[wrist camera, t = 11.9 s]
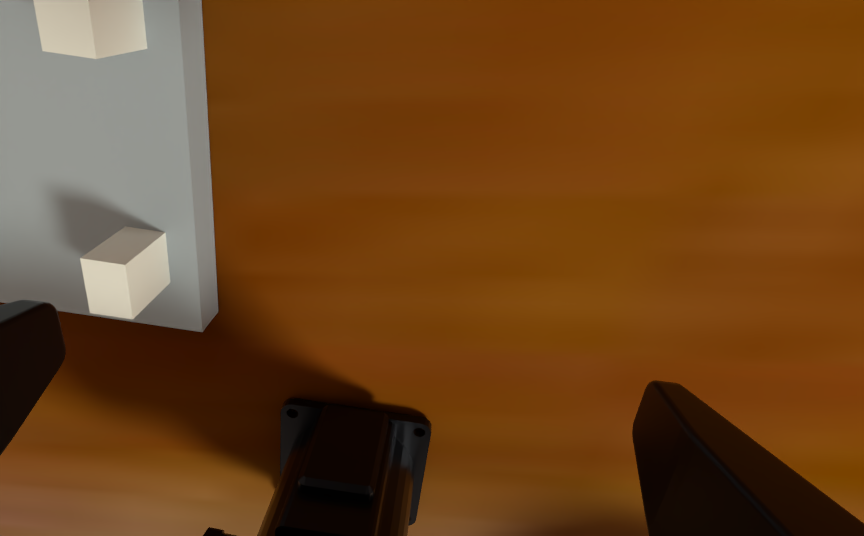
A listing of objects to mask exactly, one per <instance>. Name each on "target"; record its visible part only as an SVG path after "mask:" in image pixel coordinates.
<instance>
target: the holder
mask: <svg viewBox="0 0 864 536" xmlns="http://www.w3.org/2000/svg"><path fill="white" fill-rule="evenodd" d="M24 299H27V300H35V301H42V302H49V303H51V304H52V305H54V306H55V308H56V309H57V311H63V312H70V313H76V314H83V315H90V316H97V317H103V318H110V319H117V320H123V321H130V322H137V323H144V324H150V325H157V326H164V327H170V328H177V329H184V330H191V331H197V332H203V331H204V329H205V328H206V327H207V326H208V324H209V323H210V322H211V320H212V319H213V318H214V317H215V315H216V314H217V313H218V293H217V275H216V257H215V239H214V220H213V202H212V184H211V165H210V147H209V129H208V111H207V92H206V74H205V56H204V38H203V19H202V1H201V0H0V302H2V303H10V302H14V301H17V300H24Z"/></svg>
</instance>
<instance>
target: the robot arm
mask: <svg viewBox="0 0 864 536" xmlns="http://www.w3.org/2000/svg"><path fill="white" fill-rule="evenodd" d="M65 351H66V348H65V343H64V338H63V334H62V329H61V325H60V320H59V316H58V312H57V309H56V308H55V306H54V305H52V304H51V303H49V302H42V301H35V300H27V299H24V300H17V301H14V302H10V303H7V304H3V305H0V455H1V454H2V452H3V451H4V450H5V448H6V447H7V446H8V444H9V443H10V441H11V440H12V438H13V437H14V436H15V434H16V433H17V431H18V430H19V428H20V427H21V425H22V424H23V422H24V421H25V419H26V418H27V416H28V415H29V413H30V412H31V410H32V409H33V407H34V406H35V404H36V403H37V401H38V400H39V398H40V397H41V395H42V394H43V392H44V390H45V389H46V387H47V386H48V384H49V383H50V381H51V380H52V378H53V377H54V375H55V374H56V372H57V371H58V369H59V368H60V366H61V365H62V363H63V360H64V357H65ZM291 409H294V410H296V411H297V412H294V411H292V410H291ZM416 428H422V429H423V430H417V429H416ZM632 434H633V443H634V449H635V455H636V462H637V468H638V474H639V480H640V486H641V493H642V499H643V505H644V511H645V517H646V523H647V528H648V533H649V536H864V523H862V522H861V521H860V520H858V519H857V518H856V517H854V516H853V515H852V514H851V513H849V512H848V511H847V510H845V509H844V508H843V507H841V506H840V505H839V504H837V503H836V502H835V501H833V500H832V499H831V498H829V497H828V496H827V495H825V494H824V493H823V492H821V491H820V490H819V489H818V488H816V487H815V486H814V485H812V484H811V483H810V482H808V481H807V480H806V479H804V478H803V477H802V476H800V475H799V474H798V473H796V472H795V471H794V470H792V469H791V468H790V467H788V466H787V465H786V464H785V463H783V462H782V461H781V460H779V459H778V458H777V457H775V456H774V455H773V454H771V453H770V452H769V451H767V450H766V449H765V448H763V447H762V446H761V445H759V444H758V443H757V442H755V441H754V440H753V439H752V438H750V437H749V436H748V435H746V434H745V433H744V432H742V431H741V430H740V429H738V428H737V427H736V426H734V425H733V424H732V423H730V422H729V421H728V420H726V419H725V418H724V417H722V416H721V415H720V414H719V413H717V412H716V411H715V410H713V409H712V408H711V407H709V406H708V405H707V404H705V403H704V402H703V401H701V400H700V399H699V398H697V397H696V396H695V395H693V394H692V393H691V392H690V391H688V390H687V389H686V388H684V387H683V386H682V385H680V384H677V383H671V382H663V381H652V382H650V383H649V384H648V385H647V387H646V389H645V392H644V394H643V397H642V400H641V403H640V406H639V409H638V411H637V414H636V417H635V420H634V423H633V431H632ZM430 436H431V423H430V421H429V420H427V419H426V418H423V417H417V416H411V415H404V414H397V413H390V412H384V411H377V410H370V409H364V408H357V407H350V406H343V405H337V404H330V403H323V402H317V401H310V400H303V399H296V398H290V399H288V400H286V401H285V402H284V405H283V407H282V409H281V456H280V479H279V482H278V484H277V487H276V489H275V492H274V494H273V497H272V499H271V502H270V505H269V507H268V510H267V512H266V515H265V517H264V520H263V522H262V525H261V527H260V530H259V533H258V535H257V536H407V533H408V526H409V525H412V524H413V523H415V521H416V516H417V511H418V505H419V499H420V493H421V488H422V482H423V476H424V470H425V465H426V459H427V453H428V447H429V442H430ZM203 536H236V535H231V534H226V533H224V530H220V529H215V528H210V527H209V528H208V529H207V531H206V532H205V534H204V535H203Z"/></svg>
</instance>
